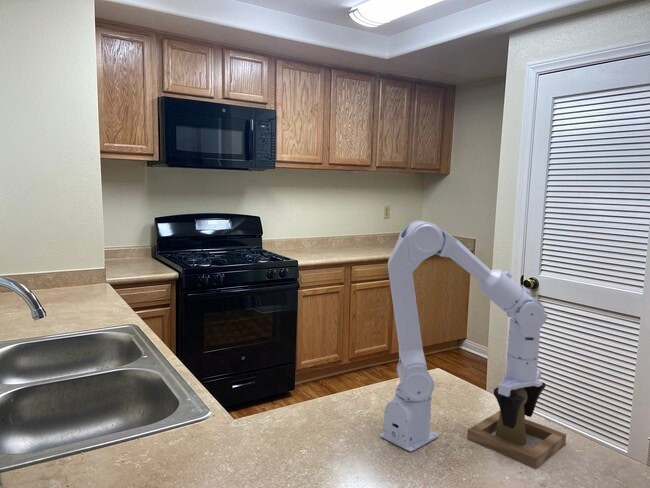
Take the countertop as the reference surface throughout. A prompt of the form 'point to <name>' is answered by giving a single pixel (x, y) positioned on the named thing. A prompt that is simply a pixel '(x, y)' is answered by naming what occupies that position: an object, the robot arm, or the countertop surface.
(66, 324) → the countertop surface
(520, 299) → the robot arm
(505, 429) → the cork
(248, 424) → the countertop surface
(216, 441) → the countertop surface
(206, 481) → the countertop surface
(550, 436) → the socket block
